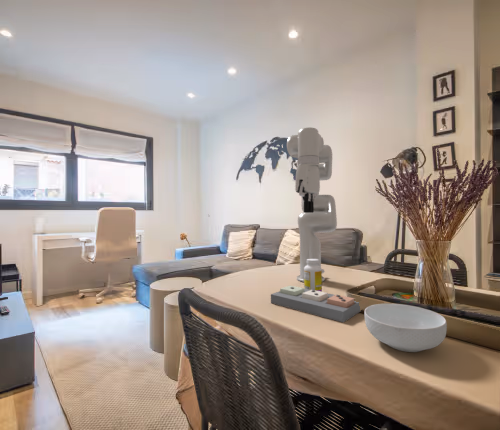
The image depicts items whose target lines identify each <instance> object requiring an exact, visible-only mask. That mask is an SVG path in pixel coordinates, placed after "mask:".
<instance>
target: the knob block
mask: <svg viewBox="0 0 500 430" xmlns="http://www.w3.org/2000/svg"><path fill="white" fill-rule="evenodd" d="M279 291H280V293H283V294H287V295H292V296H297V295H300V294H302V293H304V287H300V286H295V285H287V286H283V287H280V290H279Z"/></svg>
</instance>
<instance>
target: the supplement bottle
mask: <svg viewBox="0 0 500 430" xmlns="http://www.w3.org/2000/svg"><path fill="white" fill-rule="evenodd" d="M318 264H319V260H318V259H307V266H305V267H304V282H303V283H304V284H303V285H304V286H303V288H304V289H309V290H316V291H321V292H323V282H322V276H323V273H322V269H323V268H322V266H321V267H320V266H318Z"/></svg>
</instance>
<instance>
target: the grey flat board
mask: <svg viewBox="0 0 500 430" xmlns="http://www.w3.org/2000/svg"><path fill="white" fill-rule="evenodd" d="M307 291H310V290H309V289H304V292H307ZM334 295H335V294H333V293H328V298H330V297H332V296H334ZM328 298H326V299H324V300H322V301H320V302H317V301H313V300H309V299H304V298H302V294H300V295H297V296H292V295H287V294H283V293H280V290H279V291H276V292H273V293H270V304H273V305H277V306H280V307H285V308H288V309H292V310H295V311H299V312H303V313H307V314H310V315H314V316H317V317H322V318H325V319H329V320H334V321H336V322H341V323H344V322H346V321H348V320H350V319H351V318H352V317H354V316H355V315H358V314H359V313H360V312H361V311H360V306H359V302H356V301H354V304H353V305H352V306H350V307H348V308H343V307H339V306H335V305H330V304H327V299H328Z"/></svg>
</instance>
